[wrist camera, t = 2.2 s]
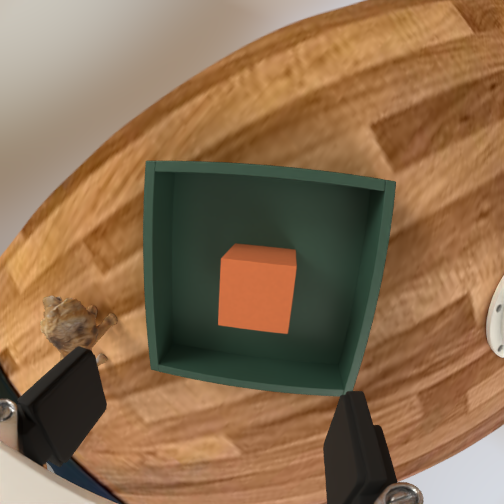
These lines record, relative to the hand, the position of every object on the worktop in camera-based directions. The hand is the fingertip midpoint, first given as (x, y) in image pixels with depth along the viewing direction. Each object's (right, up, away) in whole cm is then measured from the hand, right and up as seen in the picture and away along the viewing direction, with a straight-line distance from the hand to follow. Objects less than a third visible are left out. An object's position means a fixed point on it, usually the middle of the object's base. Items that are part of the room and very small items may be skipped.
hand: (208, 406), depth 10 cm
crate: (+2, +4, +16) cm, 16 cm away
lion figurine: (-16, -3, +20) cm, 26 cm away
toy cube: (+2, +4, +15) cm, 16 cm away
